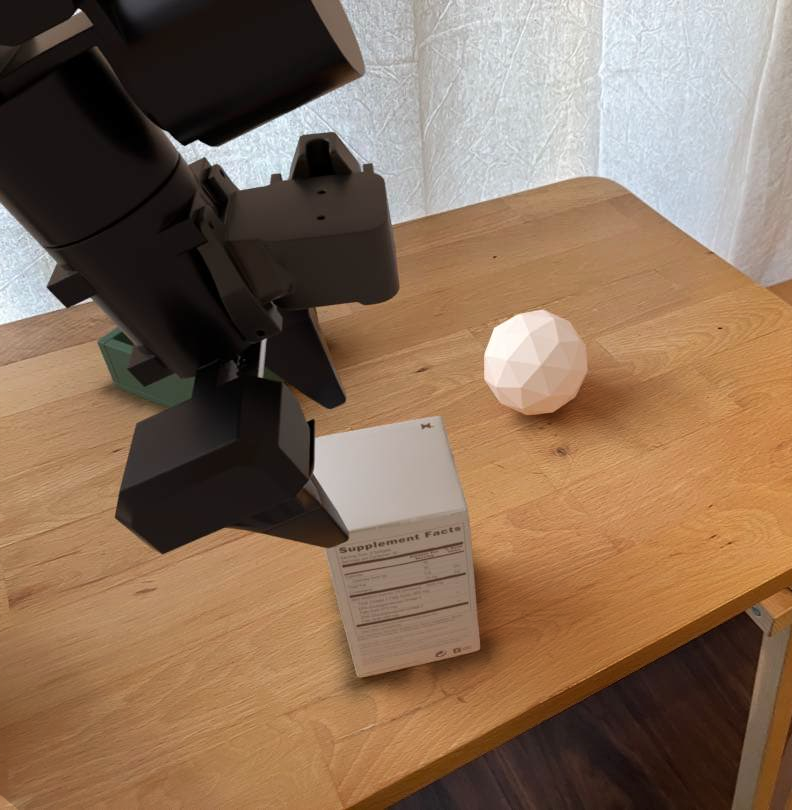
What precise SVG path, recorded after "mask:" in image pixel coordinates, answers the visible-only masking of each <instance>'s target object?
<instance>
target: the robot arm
mask: <svg viewBox="0 0 792 810" xmlns="http://www.w3.org/2000/svg"><path fill="white" fill-rule="evenodd" d="M78 10H80V11H79V12H77V11H78ZM76 12H77V13H76ZM75 13H76V14H75ZM354 32H355V31H354V29H353V27H352V24H351V22H350V20H349V18H348V15H347V13H346V11H345V9H344V6H343V4H342V1H341V0H0V204H1V205H2V207H4V208H5V209H6V210H7V212H8V213H9V214H10V215H11V216H12V217H13V218H14V219H15V220H16V222H18V223H19V224H20V225H21V226H22V227H23V228H24V230H26V232H27V233H29V235H30V236H31V237H32V238H33V239H34V240H35V241H36V242H37V243H38V244H39V245H40V246H41V247H42V248H43V250H44V251H45V252H46V253H47V254H48V255H49V256H50V257H51V258H52V259H53V261H55V262H56V264H55V266H54V268H53V271H52V273H51V276H50V277H49V280H48V281H47V285H46V286H45V288H46V289H47V290H48V291H49V292H50V293H51V294H52V296H54V297H55V298H56V299H57V300H58V302H60V303H61V304H62V305H63V306H64V307H65V308H66V309H70V308H72V307H74V306H76V305H77V304H80V303H82V302H84V301H87V300H88V299H91V300H92V301H93V302H94V303H95V304H96V306H97V307H98V308H99V309H101V311H102V312H103V313H104V314H105V315H106V316H107V317H108V318H109V319H110V320H111V321H112V322H113V323H114V324H115V325H116V327H119V328H120V329H121V330H122V331H123V333H124V334H125V335H126V336H127V337H128V338H129V339H130V340H131V341H132V342H133V343H134V345H133V349H132V352H131V356H130V359H129V363H128V367H127V370H128V371H129V372H130V373H131V374H132V375H133V376H134V377H135V378H136V379H137V380H138V381H139V382H140V383H141V384H142V385H143V386H144V387H146V386H148V385H150V384H152V383H155V382H157V381H159V380H161V379H163V378H166V377H168V376H170V375H172V374H176V375H177V377H178V378H180V379H186V378H192V377H195V381H194V386H193V391H192V397H191V399H189V400H186V401H184V402H182V403H180V404H178V405H175V406H173V407H171V408H167V409H164V410H162V411H159V412H158V413H155V414H153V415H151V416H149V417H146V418H144V419H142V420H140V421H138V422H136V423H135V427H134V431H133V435H132V439H131V442H130V447H129V451H128V455H127V459H126V462H125V466H124V471H123V475H122V478H121V483H120V487H119V490H118V496H117V497H118V498H117V502H116V508H115V513H114V519H115V520H117V521H118V522H119V523H120V524H121V525H122V526H124V528H126V529H128V530H129V532H130V533H132V534H133V535H134V536H136V537H137V538H138V539H139V540H140V541H142V542H143V543H144V544H145V545H147V547H149V548H150V549H152V550H153V551H155V552H157V553H158V554H161V555H165V554H167V553H169V552H172V551H174V550H177V549H179V548H181V547H184V546H186V545H188V544H191V543H193V542H195V541H197V540H200V539H202V538H205V537H207V536H209V535H212V534H214V533H216V532H219V531H221V530H224V529H231V530H239V531H247V532H252V533H256V534H261V535H266V536H270V537H275V538H280V539H284V540H288V541H291V542H297V543H301V544H306V545H311V546H315V547H319V548H332V547H335V546H337V545H340V544H342V543H344V542H347V541H348V540H349V531H348V529H347V527H346V526H345V524H344V522H343V520H342V518H341V516H340V515H339V513H338V511H337V510H336V508H335V506H334V505H333V503H332V502H331V500H330V499H329V497H328V496H327V494H326V493H325V491H324V489H323V488H322V486H321V485H320V483H319V482H318V480H317V479H316V477H315V475H314V474H313V471H314V467H315V438H316V425H317V424H316V419H315V418H311V419H310V420H307V419H306V416H305V414H304V411H303V409H302V406H301V404H300V401H299V399H297V397H296V396H295V395H294V394H293V393H292V391H290V389H289V388H288V387H287V386H286V384H288V385H289V386H291V387H292V388H293V389H295V390H297V392H299V393H301V394H302V395H304V396H305V397H306V398H309V399H310V400H311V401H314V402H315V403H316V404H318V405H320V406H322V407H323V408H325V409H327V410H333V409H335V408H338V407H340V406H342V405H344V404H346V402H347V394H346V391H345V389H344V386H343V383H342V381H341V377H340V375H339V373H338V371H337V367H336V365H335V362H334V359H333V357H332V354H331V352H330V349H329V346H328V343H327V341H326V337H325V335H324V333H323V331H322V328H321V325H320V322H318V321H319V318H318V319H317V316H318V315H317V316H316V314H315V311H314V307H316V308H322V307H329V306H338V305H344V304H345V305H346V304H353V303H358V304H360V305H362V306H374V305H380V304H382V303H385V302H388V301H390V300H391V299H393V298H394V297H395V296H396V295H398V293H399V291H400V289H401V288H400V287H401V286H400V285H401V284H400V276H399V268H398V259H397V249H396V248H397V247H396V242H395V235H394V230H393V224H392V218H391V211H390V205H389V198H388V192H387V186H386V180H385V179H384V177H383V176H382V175H380V174H378V173H375V169H374V163H372V162H370V163H363V164H362V166H361V164H360V163H359V161H358V160H357V158H356V157H355V155H354V154H353V153H352V152H351V150H350V149H349V148H348V147H347V145H346V144H345V143H344V141H342V139H341V137H340V136H339V135H338V134H337V133H336V132H335V131H326V132H325V131H324V132H317V133H307V134H301V135H299V137H298V140H297V144H296V146H295V147H296V148H295V151H294V154H293V157H292V161H291V165H290V167H289V175H288V177H287V179H283V175H282V173H281V172H278V173H271V174H270V179H269V180H270V181H269V184H267V185H264V186H257V187H251V188H245V189H240V188H238V186H237V185H236V184H235V183H234V182H233V180H231V178H230V177H229V175H228V174H227V172H226V171H225V170H224V169H223V166H221V165H220V164H219V163H214V164H211V163H210V161H209V160H208V158H207V157H206V156H203V157H201V158H199V159H197V160H195V161H193V162H191V163H188V162H187V161H186V159H185V158H184V157H183V155H182V154H181V153H180V151H179V150H178V149H177V147H176V146H175V144H173V142H172V141H171V139H170V138H169V136H167V134H166V133H165V132H167V133H168V134H169V135H170V136H171V137H172V138H173V139H174V140H175V141H177V143H179V144H180V145H181V146H183V147H186V146H188V145H191V144H192V143H194V142H197V141H199V142H200V143H202V144H204V145H206V146H208V147H211V148H219V147H221V146H223V145H226V144H227V143H229V142H231V141H234V140H236V139H238V138H240V137H242V136H244V135H246V134H248V133H250V132H252V131H254V130H256V129H257V128H260V127H262V126H264V125H266V124H268V123H271V122H272V121H274V120H276V119H278V118H281V117H282V116H285V115H287V114H288V113H290V112H293V111H295V110H297V109H299V108H301V107H303V106H305V105H307V104H309V103H311V102H314V101H315V100H317V99H320V98H321V97H323V96H326V95H328V94H330V93H331V92H333V91H336V90H338V89H340V88H342V87H343V86H346V85H348V84H350V83H352V82H354V81H356V80H359V79H360V78H362V77H364V76H365V74H366V65H365V61H364V57H363V54H362V51H361V48H360V45H359V42H358V40H357V37H356V34H355V33H354ZM264 367H266V368H267V369H269V370H270V371H271V372H273V373H274V374H276V375H277V376H278V377H280V378H281V379H283V380H284V381H285V382H284V383H283V382H281V381H276V380H271V379H266V378H263V373H264ZM285 383H286V384H285Z"/></svg>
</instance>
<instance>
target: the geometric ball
mask: <svg viewBox="0 0 792 810" xmlns="http://www.w3.org/2000/svg"><path fill="white" fill-rule="evenodd" d="M587 357H588V355H587V346H586V344H585V343H584V341H583V339H582V338H581V336H580V334H578V332H577V330H576V329H575V327H574V326H573V324H572V322H571V321H570V320H567V319H565V318H563V317H561V316H558V315H557V314H554V313H552V312H550V311H548V310H545V309H539V310H533V311H528V312H523V313H517V314H516V315H514V316H512V317H511V318H509V319H507V320H505V321H504V322H502V323H500V324H499V325H497V326H495V327H494V328H493V330H492V333H491V336H490V338H489V341H488V344H487V346H486V349H485V351H484V354H483V371H484V373H483V374H484V375H483V376H484V381H485V383H486V384H487V386H488V387H489V389H490V391H492V393H493V394H494V396H495V397H496V399H497V400H498V402H499V403H500V405H503V406H505V407H507V408H510V409H512V410H514V411H516V412H518V413H521V414H522V415H525V416H535V415H543V414H550V413H554V412H556V411H557V410H558V409H561V408H562V407H563V406H564V405H566V404H567V403H569V402H571V400H573V399H575V398H576V397H577V396H578V395H577V394H578V393H579V390H580V388H581V387H582V384H583V382H584V380H585V378H586V376H587V373H588V371H589V370H588V358H587Z"/></svg>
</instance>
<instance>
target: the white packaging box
mask: <svg viewBox="0 0 792 810" xmlns="http://www.w3.org/2000/svg"><path fill="white" fill-rule="evenodd" d="M452 449H453V448H452V446H451V442H450V440H449V435H448V432H447V429H446V424H445V420H444V416H442V415H435V416H428V417H420V418H415V419H410V420H404V421H398V422H392V423H387V424H381V425H375V426H370V427H364V428H359V429H354V430H349V431H344V432H336V433H331V434H326V435H321V436H318V437H315V467H314V471H313V474H314V475H315V477H316V479H317V480H318V482H319V483H320V485H321V486H322V488H323V489H324V491H325V493H326V494H327V496H328V497H329V499H330V500H331V502H332V503H333V505H334V506H335V508H336V510H337V511H338V513H339V515H340V516H341V518H342V520H343V522H344V524H345V526H346V527H347V529H348V531H349V540H348V541H347V542H344V543H342V544H340V545H337V546H335V547H332V548H324V549H323V550H324V552H325V553H324V554H325V557H326V561H327V564H328V568H329V572H330V576H331V581H332V584H333V588H334V589H333V590H334V593H335V597H336V601H337V605H338V609H339V613H340V616H341V621H342V624H343V628H344V632H345V635H346V639H347V643H348V646H349V647H348V648H349V650H350V654H351V658H352V662H353V666H354V669H355V673H356V676H357V678H366V677H370V676H371V677H372V676H377V675H381V674H385V673H388V672H395V671H398V670H402V669H408V668H411V667H417V666H420V665H425V664H429V663H433V662H438V661H442V660H448V659H451V658H454V657H455V658H456V657H459V656H463V655H467V654H471V653H476V652H479V651H480V650H481V641H480V639H481V638H480V629H479V619H478V609H477V608H478V606H477V596H476V595H477V594H476V584H475V583H476V582H475V570H474V556H473V544H472V543H473V541H472V533H471V532H472V531H471V521H470V514H469V506H468V502H467V500H466V496H465V492H464V489H463V485H462V482H461V478H460V475H459V471H458V467H457V463H456V459H455V454H454V452H453V450H452Z"/></svg>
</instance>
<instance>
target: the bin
mask: <svg viewBox="0 0 792 810" xmlns="http://www.w3.org/2000/svg"><path fill="white" fill-rule="evenodd" d="M314 311H315V314H316V316H317V319H318V322H319V316H318V312H317V307H314ZM319 323H320V322H319ZM96 343H97V345H98V348H99V350H100V353H101V355H102V357H103V360H104V362H105V363H104V364H105V365H106V367H107V369H108V370H107V371H108V372H109V374H110V377H111V379H112V382H113V384H114V387H115V388H116V389H118V390H120V391H124V392H126V393H129V394H131V395H134V396H136V397H139V398H142V399H145V400H147V401H150V402H152V403H155V404H158V405H161V406H163V407H165V408H167V409H169V408H171V407H173V406H175V405H178V404H180V403H182V402H184V401H186V400H189V399H191V397H192V391H193V386H194V381H195V377H192V378H186V379H180V378H178V377H177V375H176V374H172V375H170V376H168V377H166V378H163V379H161V380H159V381H157V382H155V383H152V384H150V385H148V386H146V387H144V386H143V385H142V384H141V383H140V382H139V381H138V380H137V379H136V378H135V377H134V376H133V375H132V374H131V373H130V372H129V371H128V370H127V367H128V363H129V359H130V356H131V352H132V349H133V345H134V343H133V342H132V341H131V340H130V339H129V338H128V337H127V336H126V335H125V334H124V333H123V331H122V330H121V329H120V328H119V327H118V326H116V327H115V328H114V329H112V330H111V331H109V332H108V333H106V334H105V335H103V336H102V337H100V338H99V339H98V340H97V341H96ZM263 378H266V379H271V380H276V381H281V382H283V383H284V384H285V383H286V382H285V381H284V380H283V379H281V378H280V377H278V376H277V375H276V374H274V373H273V372H271V371H270V370H269V369H267V368H266V367H264V373H263Z"/></svg>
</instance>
